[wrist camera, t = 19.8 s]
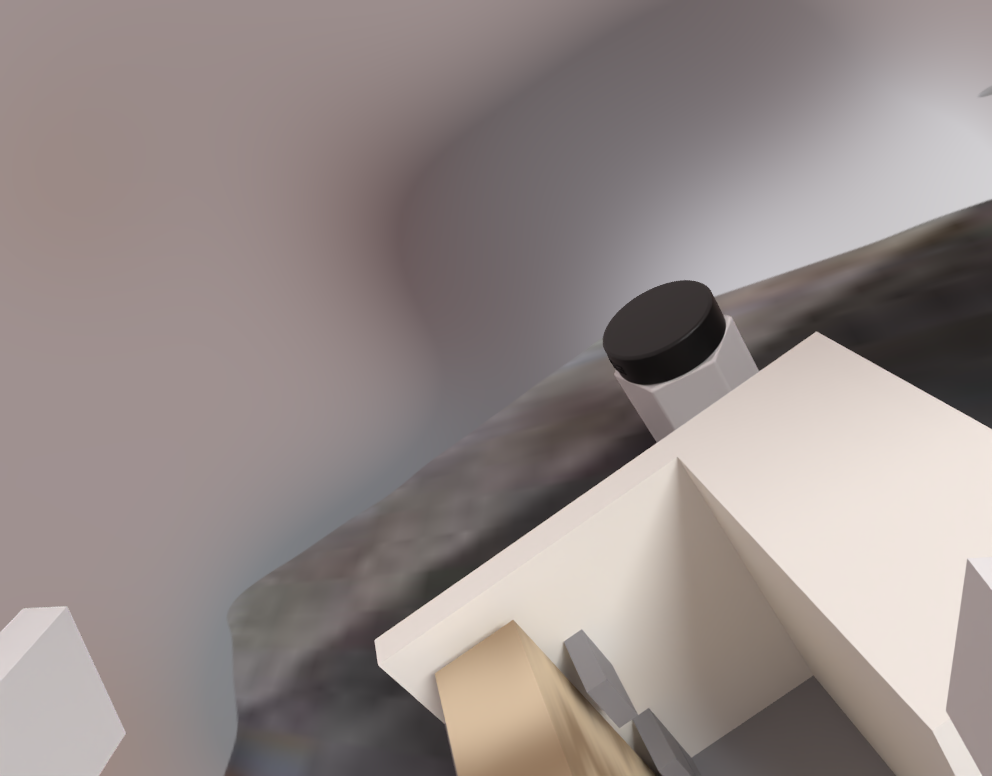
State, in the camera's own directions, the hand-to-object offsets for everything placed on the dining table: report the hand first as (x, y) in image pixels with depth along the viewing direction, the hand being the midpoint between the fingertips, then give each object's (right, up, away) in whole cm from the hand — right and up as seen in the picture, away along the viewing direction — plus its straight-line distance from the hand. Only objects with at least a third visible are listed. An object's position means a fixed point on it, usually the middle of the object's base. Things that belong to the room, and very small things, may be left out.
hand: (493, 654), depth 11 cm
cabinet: (+16, -16, +23) cm, 32 cm away
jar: (+17, 0, +46) cm, 49 cm away
